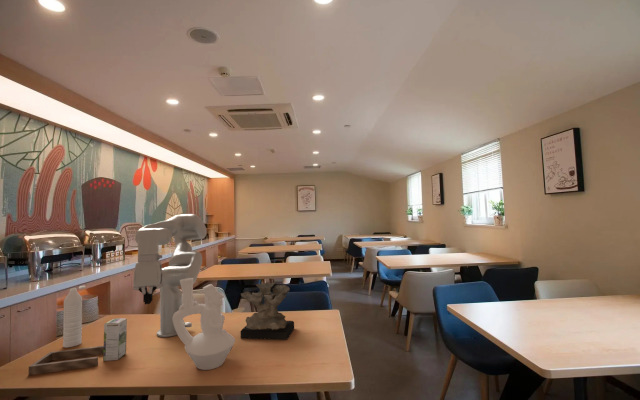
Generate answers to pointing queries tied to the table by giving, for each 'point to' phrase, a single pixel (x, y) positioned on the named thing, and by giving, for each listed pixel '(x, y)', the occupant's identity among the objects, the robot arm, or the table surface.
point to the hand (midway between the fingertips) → (147, 303)
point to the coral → (267, 314)
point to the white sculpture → (203, 327)
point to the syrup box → (115, 339)
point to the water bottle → (72, 318)
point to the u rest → (47, 367)
